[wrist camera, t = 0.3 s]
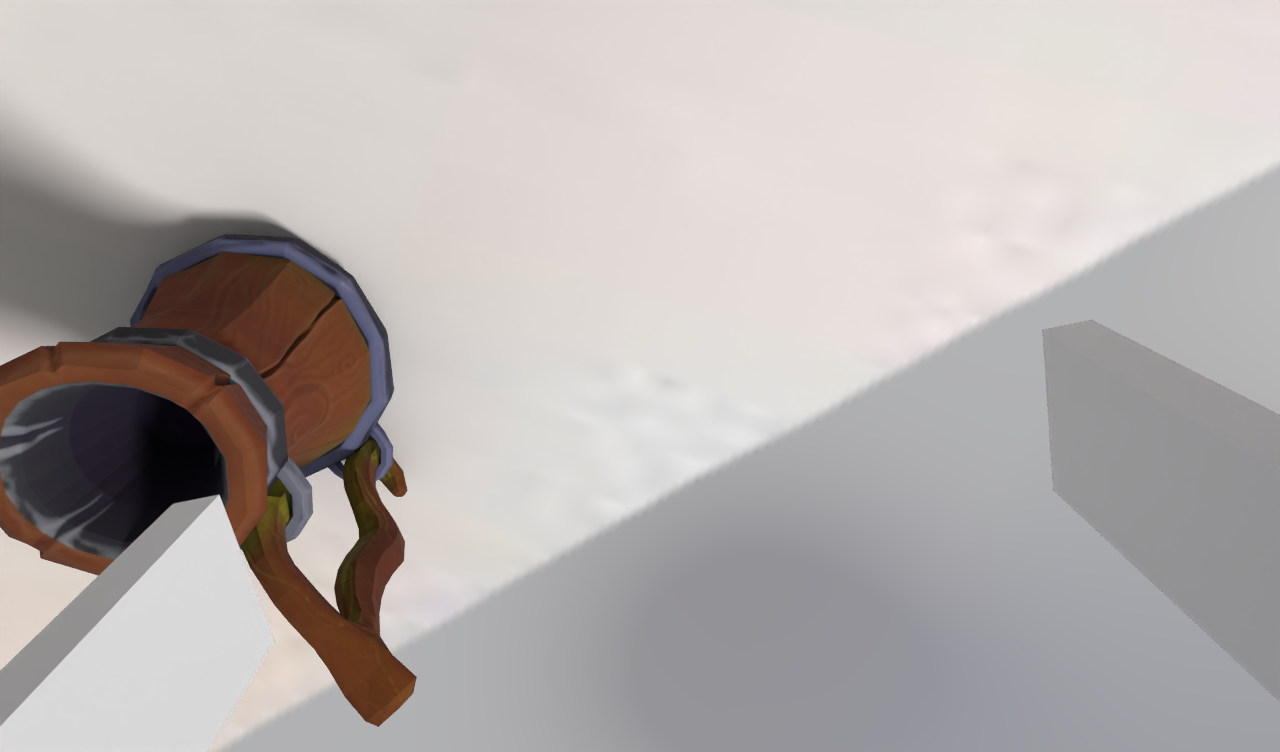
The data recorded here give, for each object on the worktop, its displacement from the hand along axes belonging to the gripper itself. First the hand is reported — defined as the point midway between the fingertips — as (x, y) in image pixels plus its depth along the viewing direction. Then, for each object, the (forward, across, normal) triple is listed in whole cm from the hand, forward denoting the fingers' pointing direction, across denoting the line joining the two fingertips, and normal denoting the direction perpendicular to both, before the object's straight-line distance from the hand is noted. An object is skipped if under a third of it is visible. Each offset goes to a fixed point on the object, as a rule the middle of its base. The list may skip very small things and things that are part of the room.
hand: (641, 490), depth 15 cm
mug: (+28, -15, -5) cm, 32 cm away
